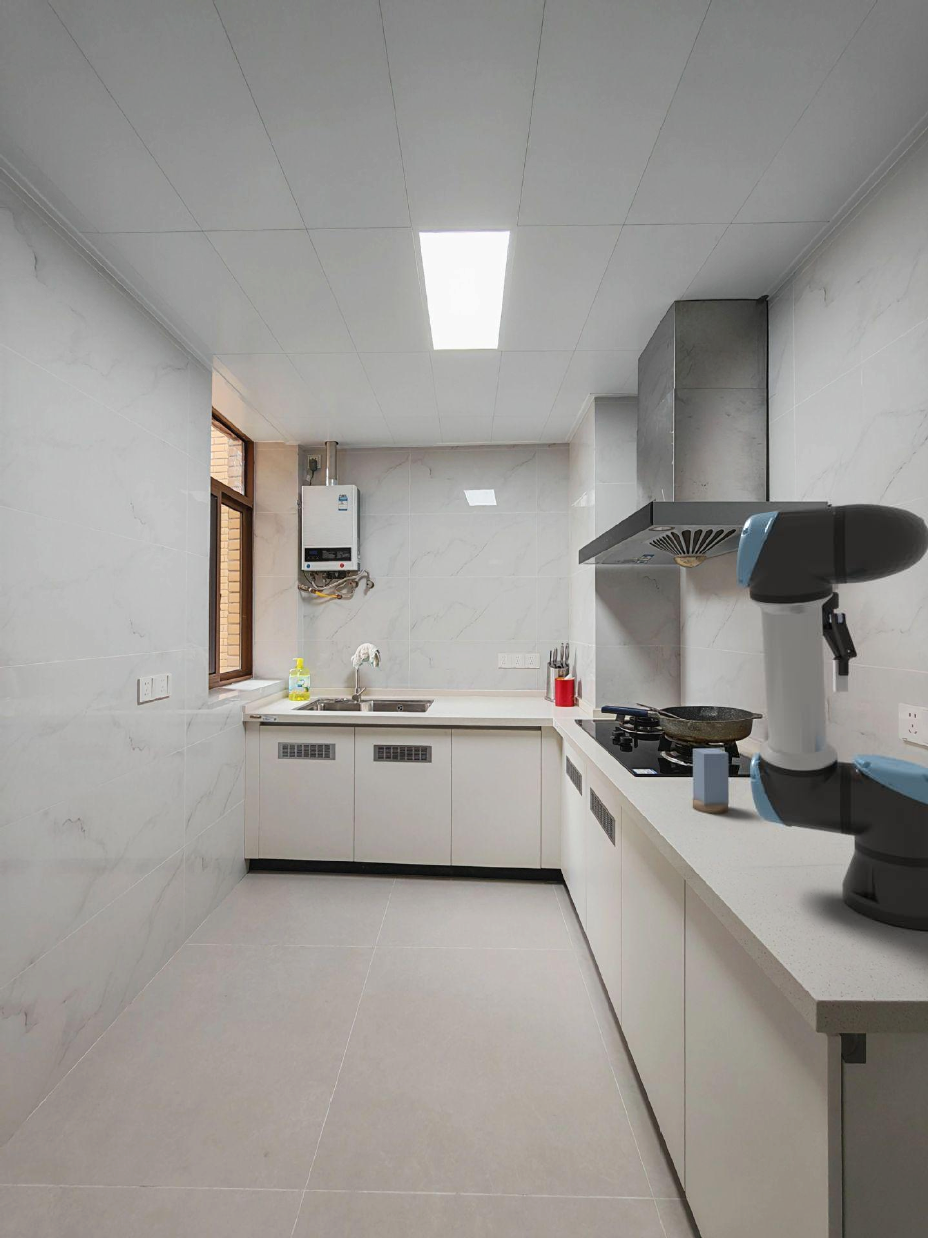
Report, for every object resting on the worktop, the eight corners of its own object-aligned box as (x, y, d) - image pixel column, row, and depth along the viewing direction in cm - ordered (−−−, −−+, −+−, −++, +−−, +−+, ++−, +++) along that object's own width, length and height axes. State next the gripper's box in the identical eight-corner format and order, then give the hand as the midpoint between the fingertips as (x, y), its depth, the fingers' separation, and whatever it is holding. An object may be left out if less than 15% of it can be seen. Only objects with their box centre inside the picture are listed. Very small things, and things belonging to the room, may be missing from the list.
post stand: (727, 815, 146) (727, 781, 146) (691, 811, 149) (690, 777, 149) (729, 806, 153) (728, 773, 153) (694, 802, 156) (694, 770, 156)
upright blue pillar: (728, 803, 148) (728, 753, 148) (704, 804, 148) (703, 753, 148) (716, 796, 154) (716, 748, 154) (693, 797, 154) (692, 748, 154)
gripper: (876, 588, 125) (877, 694, 124) (800, 594, 149) (801, 682, 149) (841, 588, 124) (841, 694, 124) (770, 594, 149) (771, 682, 149)
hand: (819, 688), depth 137 cm, fingers open, 13 cm apart
